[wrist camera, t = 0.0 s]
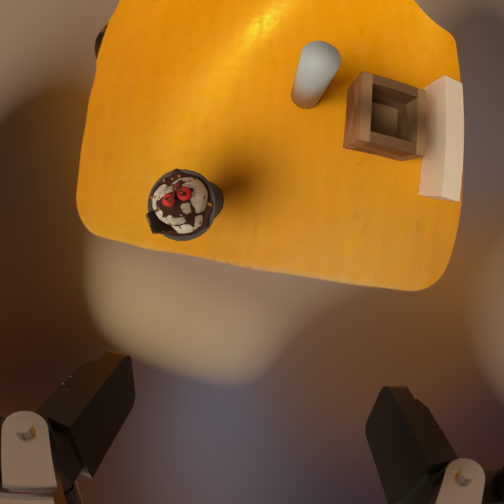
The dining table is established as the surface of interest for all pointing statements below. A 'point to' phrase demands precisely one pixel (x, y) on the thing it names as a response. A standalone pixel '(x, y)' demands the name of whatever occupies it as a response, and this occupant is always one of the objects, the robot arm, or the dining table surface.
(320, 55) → the gray cylinder
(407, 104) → the open wooden box
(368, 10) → the dining table surface
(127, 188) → the dining table surface
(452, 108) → the rail
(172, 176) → the sundae
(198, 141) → the dining table surface
